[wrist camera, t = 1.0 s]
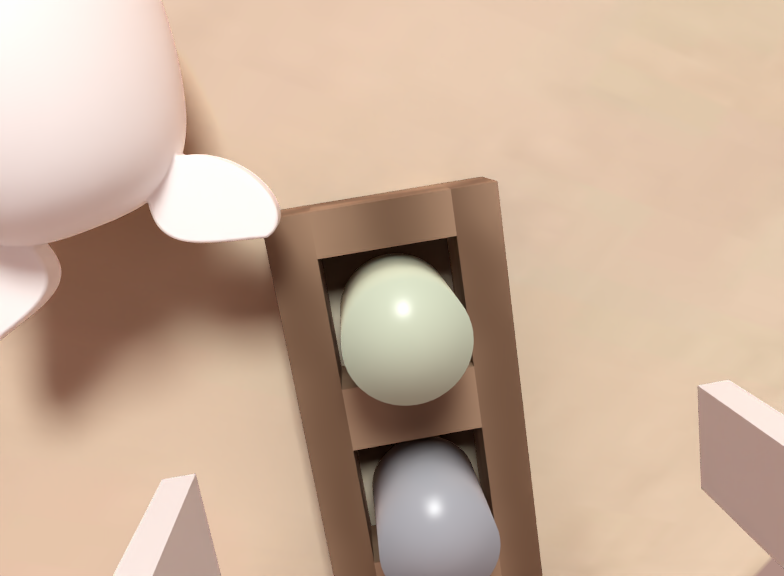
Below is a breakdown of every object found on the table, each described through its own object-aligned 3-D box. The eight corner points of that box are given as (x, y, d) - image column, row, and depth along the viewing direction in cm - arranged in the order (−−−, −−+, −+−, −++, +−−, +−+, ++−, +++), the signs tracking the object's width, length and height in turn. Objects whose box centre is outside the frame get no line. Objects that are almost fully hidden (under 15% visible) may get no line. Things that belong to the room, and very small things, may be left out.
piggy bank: (-64, -47, 27) (106, 268, 32) (-430, -82, 17) (-96, 395, 22) (176, -181, 24) (328, 195, 29) (-95, -334, 13) (216, 305, 18)
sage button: (350, 368, 30) (353, 416, 25) (331, 263, 28) (330, 291, 23) (456, 349, 30) (481, 393, 25) (442, 244, 29) (464, 268, 24)
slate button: (381, 536, 32) (389, 612, 27) (364, 446, 31) (370, 507, 26) (480, 518, 32) (506, 590, 27) (467, 427, 31) (493, 484, 26)
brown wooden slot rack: (367, 702, 36) (370, 751, 33) (268, 211, 29) (260, 220, 27) (540, 667, 37) (558, 713, 34) (481, 176, 30) (497, 181, 27)
